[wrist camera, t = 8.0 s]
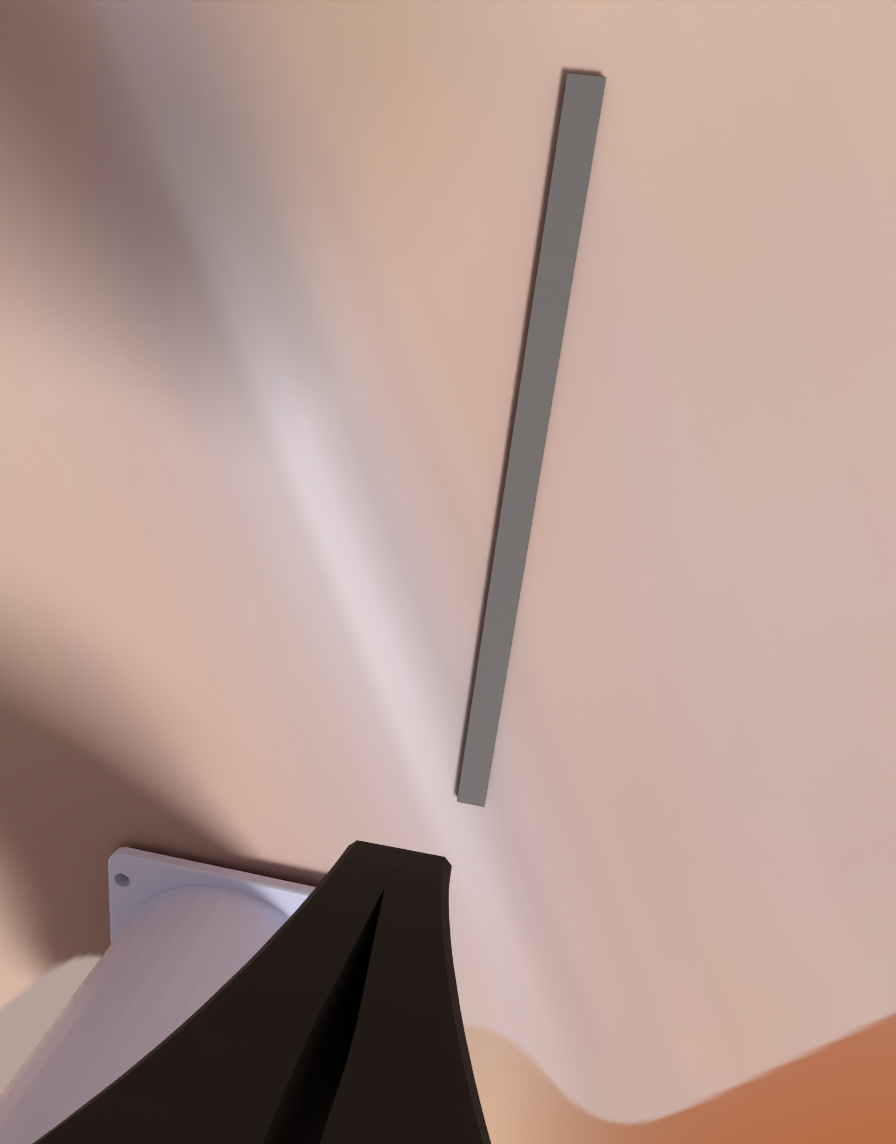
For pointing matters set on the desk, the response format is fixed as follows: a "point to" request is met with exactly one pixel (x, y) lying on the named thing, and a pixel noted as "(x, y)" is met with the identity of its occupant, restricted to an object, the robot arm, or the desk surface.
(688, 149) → the desk surface
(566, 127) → the long thin gray rod
